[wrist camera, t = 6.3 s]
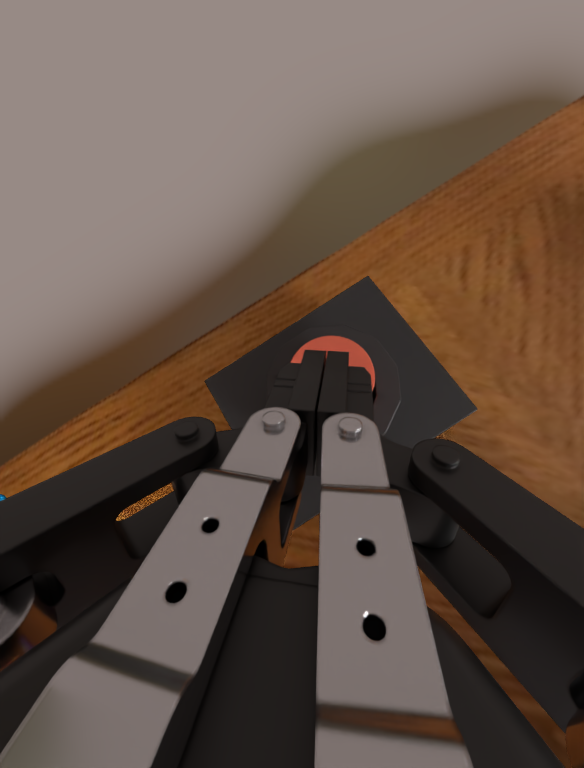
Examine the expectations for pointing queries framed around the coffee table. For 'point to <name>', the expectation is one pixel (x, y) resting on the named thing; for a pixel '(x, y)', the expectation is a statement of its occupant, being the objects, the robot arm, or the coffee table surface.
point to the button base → (391, 366)
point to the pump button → (339, 344)
